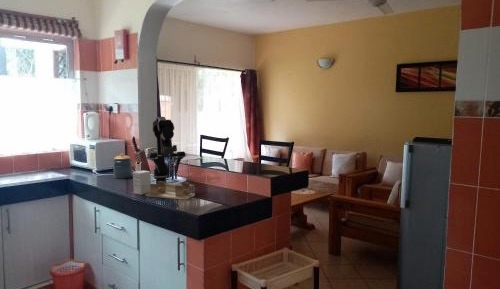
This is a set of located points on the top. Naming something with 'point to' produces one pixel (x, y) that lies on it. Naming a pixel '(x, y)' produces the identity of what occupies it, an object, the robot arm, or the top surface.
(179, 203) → the top surface
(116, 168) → the canister
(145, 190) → the supplement box
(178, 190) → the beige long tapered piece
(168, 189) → the rail
